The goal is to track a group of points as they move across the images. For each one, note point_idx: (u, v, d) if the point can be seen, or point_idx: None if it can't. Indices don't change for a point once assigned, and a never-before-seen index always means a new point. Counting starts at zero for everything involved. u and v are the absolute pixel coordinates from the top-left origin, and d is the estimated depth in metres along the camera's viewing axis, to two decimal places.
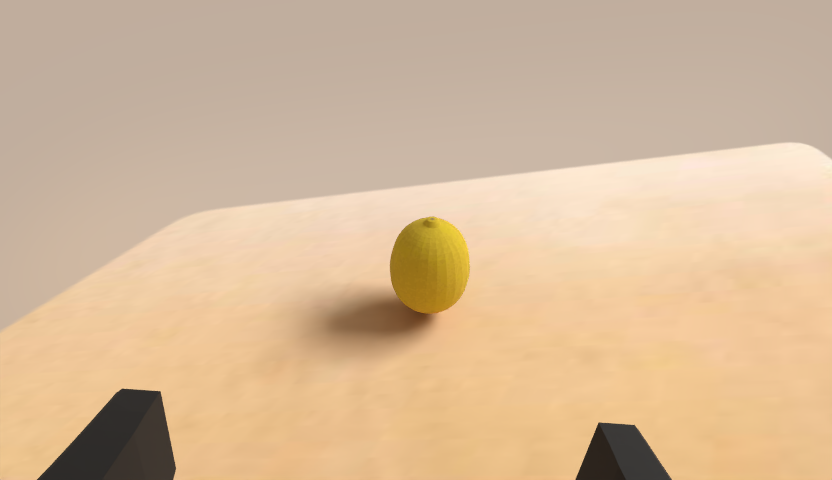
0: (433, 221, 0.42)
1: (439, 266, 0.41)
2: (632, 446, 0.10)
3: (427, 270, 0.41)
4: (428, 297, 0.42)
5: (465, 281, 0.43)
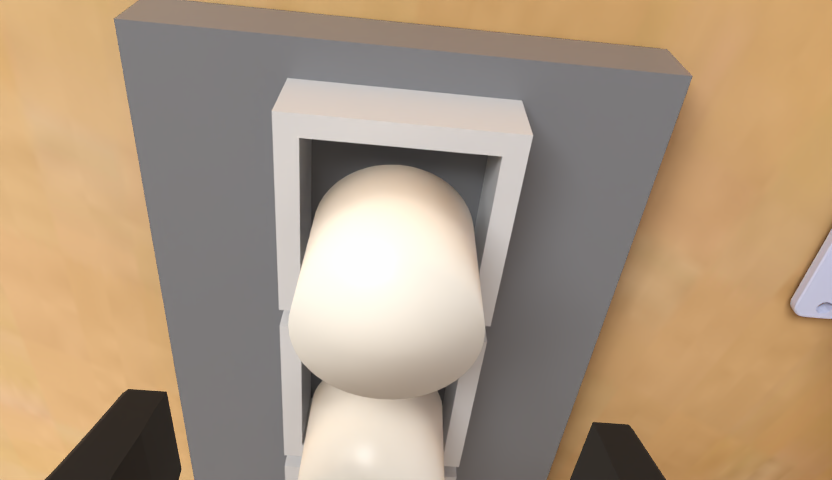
0: None
1: None
2: (626, 446, 0.10)
3: None
4: None
5: None
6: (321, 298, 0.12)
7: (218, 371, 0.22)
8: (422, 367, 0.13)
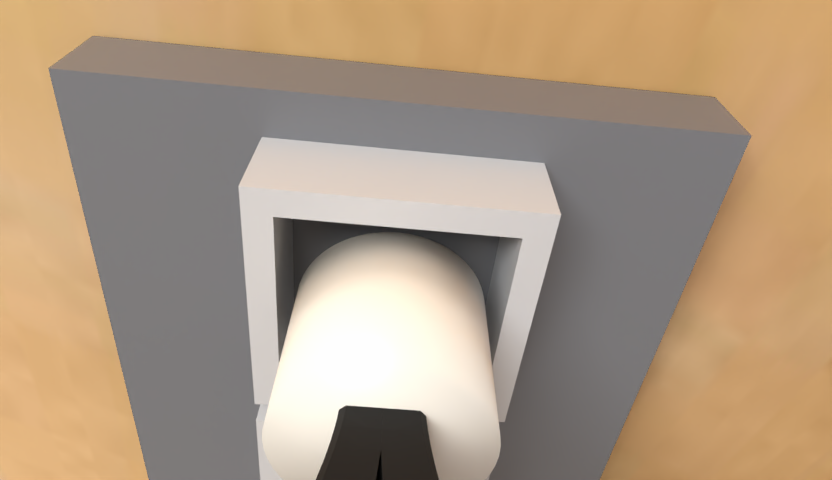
0: None
1: None
2: (405, 430, 0.10)
3: None
4: None
5: None
6: (301, 410, 0.10)
7: (191, 452, 0.19)
8: None
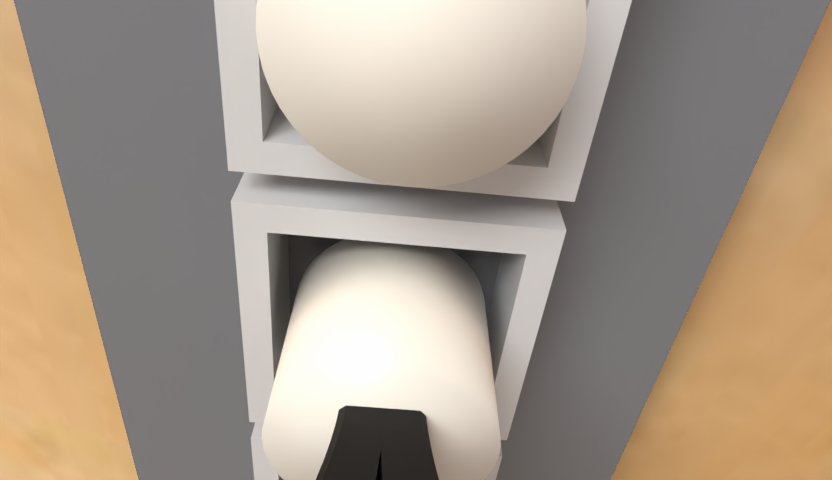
0: None
1: None
2: (405, 430, 0.10)
3: None
4: None
5: None
6: None
7: (154, 300, 0.15)
8: (476, 120, 0.08)
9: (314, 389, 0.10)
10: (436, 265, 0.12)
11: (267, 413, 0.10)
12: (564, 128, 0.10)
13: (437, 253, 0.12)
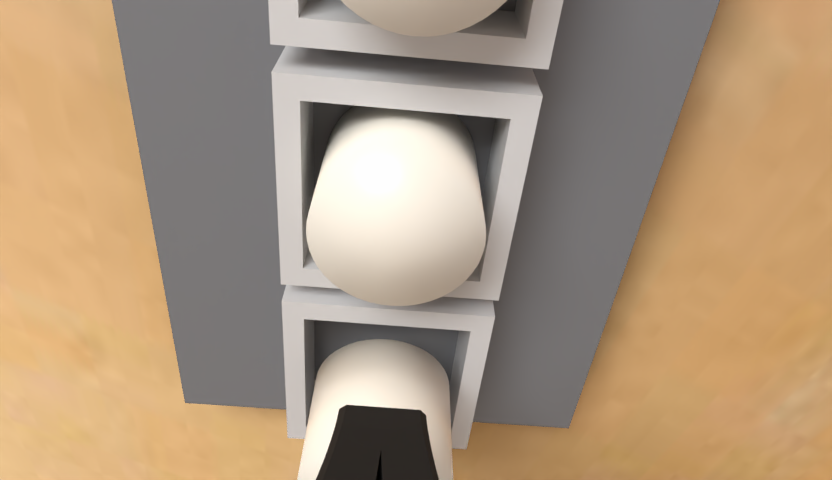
0: None
1: None
2: (405, 430, 0.10)
3: None
4: None
5: None
6: None
7: (199, 186, 0.18)
8: None
9: (346, 183, 0.13)
10: (437, 113, 0.15)
11: (311, 207, 0.14)
12: (538, 3, 0.13)
13: None
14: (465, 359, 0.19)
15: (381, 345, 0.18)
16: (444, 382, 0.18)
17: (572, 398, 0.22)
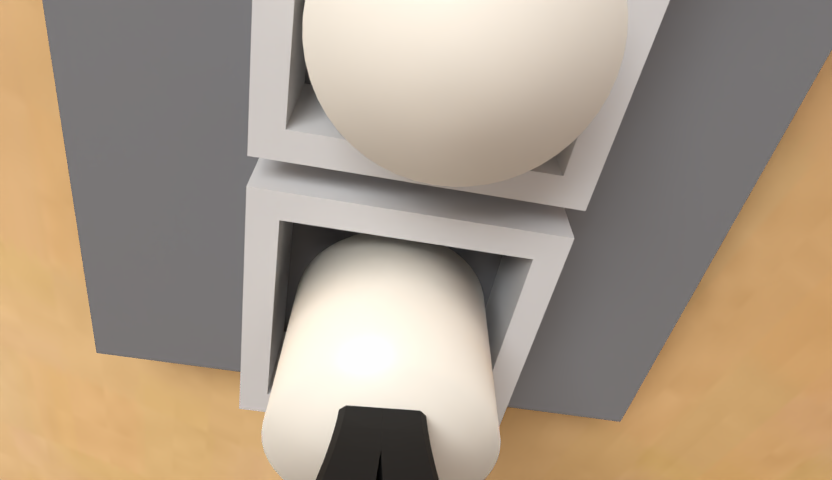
0: None
1: None
2: (405, 430, 0.10)
3: None
4: None
5: None
6: None
7: None
8: None
9: None
10: None
11: None
12: None
13: None
14: (516, 305, 0.12)
15: None
16: (482, 301, 0.13)
17: (634, 380, 0.17)
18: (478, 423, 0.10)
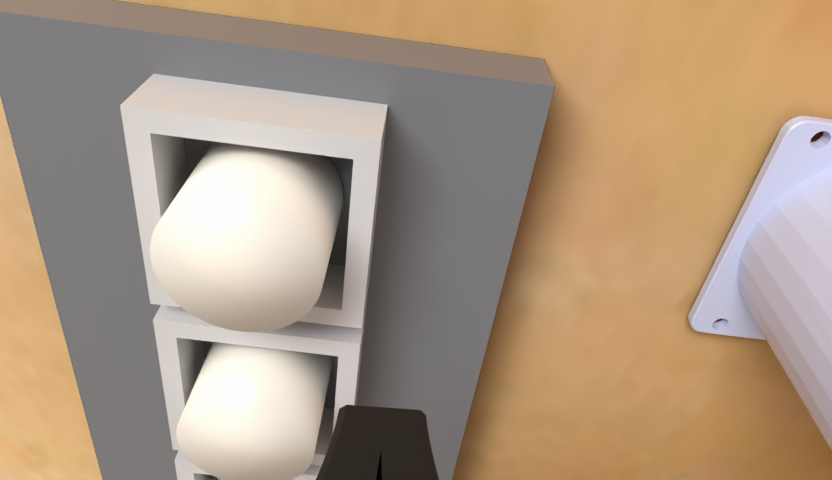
0: None
1: None
2: (405, 430, 0.10)
3: None
4: None
5: None
6: (176, 233, 0.14)
7: (113, 363, 0.22)
8: (273, 302, 0.15)
9: (203, 410, 0.18)
10: None
11: (178, 422, 0.18)
12: (348, 290, 0.17)
13: None
14: None
15: None
16: None
17: None
18: None
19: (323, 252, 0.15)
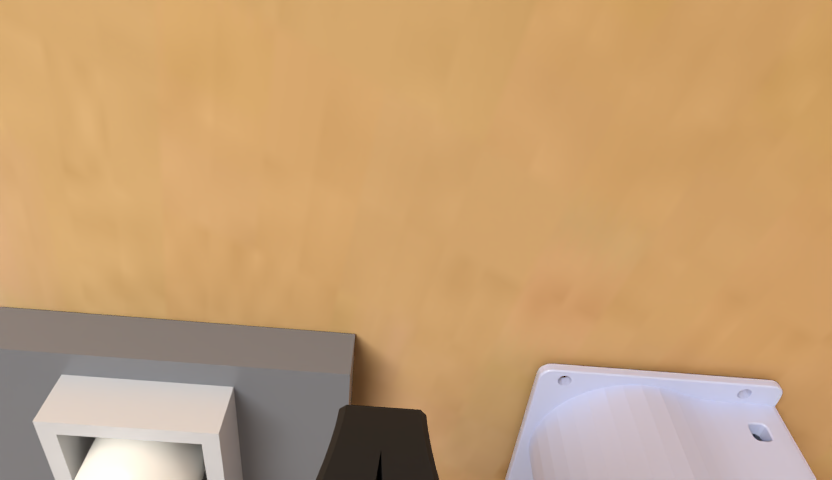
0: None
1: None
2: (405, 430, 0.10)
3: None
4: None
5: None
6: None
7: None
8: None
9: None
10: None
11: None
12: None
13: None
14: None
15: None
16: None
17: None
18: None
19: None
